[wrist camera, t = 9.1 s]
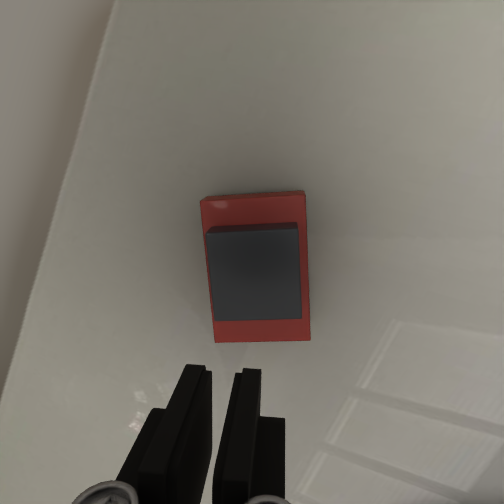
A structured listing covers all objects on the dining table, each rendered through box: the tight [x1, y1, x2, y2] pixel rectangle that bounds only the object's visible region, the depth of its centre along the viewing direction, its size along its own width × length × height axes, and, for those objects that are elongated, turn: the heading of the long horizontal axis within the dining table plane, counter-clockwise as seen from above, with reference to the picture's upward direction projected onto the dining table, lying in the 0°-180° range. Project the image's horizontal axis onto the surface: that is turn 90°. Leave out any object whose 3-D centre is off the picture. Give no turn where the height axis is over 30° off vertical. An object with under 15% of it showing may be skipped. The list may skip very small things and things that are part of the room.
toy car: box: [200, 191, 311, 343], centre depth 24 cm, size 9×5×6 cm
